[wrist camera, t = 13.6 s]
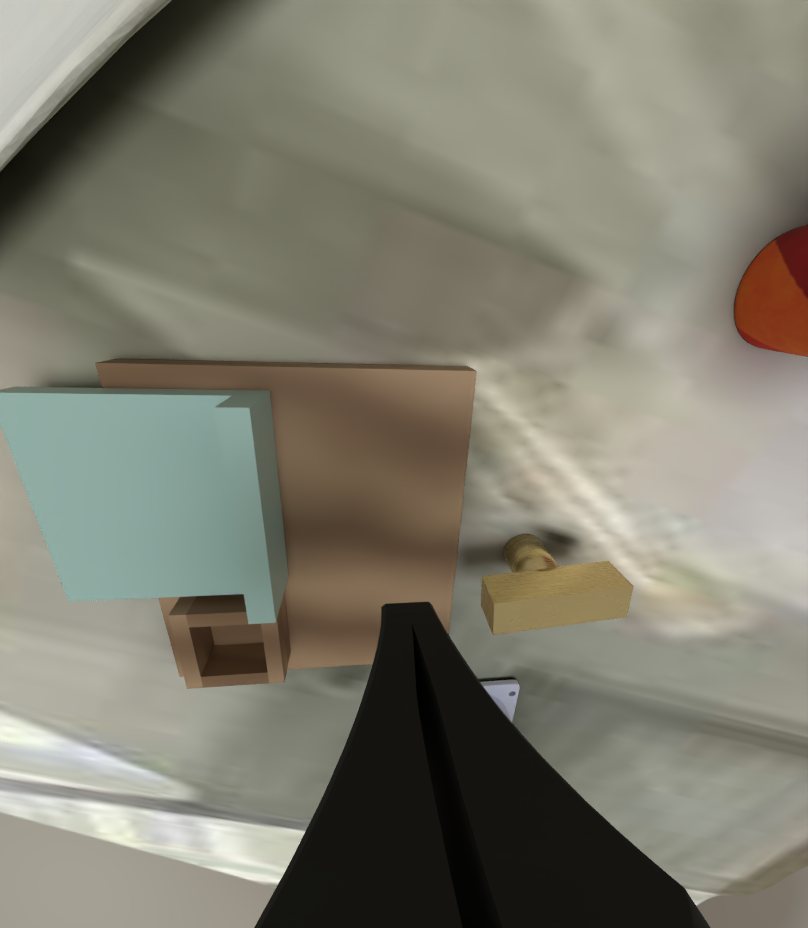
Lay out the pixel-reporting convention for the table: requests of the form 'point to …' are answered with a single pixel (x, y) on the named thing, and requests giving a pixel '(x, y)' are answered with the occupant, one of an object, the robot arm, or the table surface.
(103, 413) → the cover
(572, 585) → the tan block with knob
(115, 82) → the table surface
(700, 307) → the table surface
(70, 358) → the table surface
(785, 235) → the paper cup
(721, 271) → the table surface
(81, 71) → the square plate
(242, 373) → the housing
